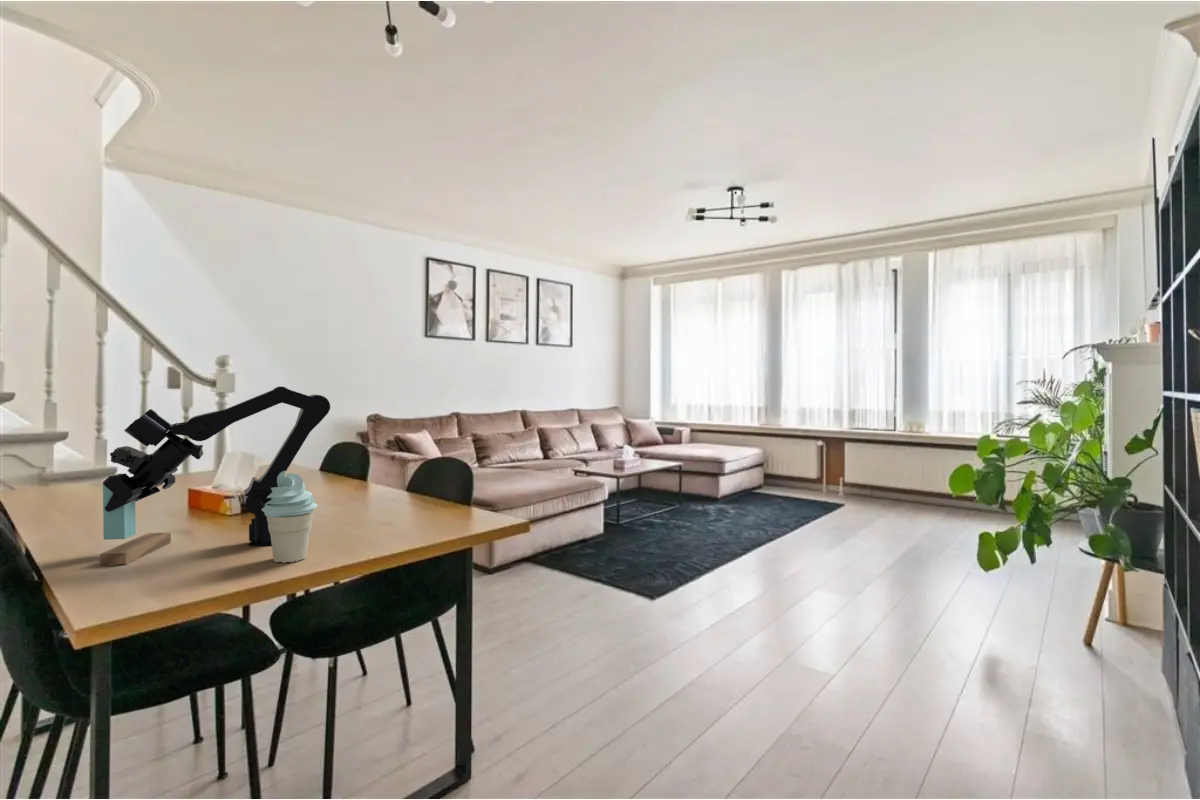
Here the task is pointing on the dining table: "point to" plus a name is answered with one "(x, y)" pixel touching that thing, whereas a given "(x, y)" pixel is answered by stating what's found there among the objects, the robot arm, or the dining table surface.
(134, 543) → the walnut strip
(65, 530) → the dining table surface
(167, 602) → the dining table surface
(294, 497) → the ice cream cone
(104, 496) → the teal block
